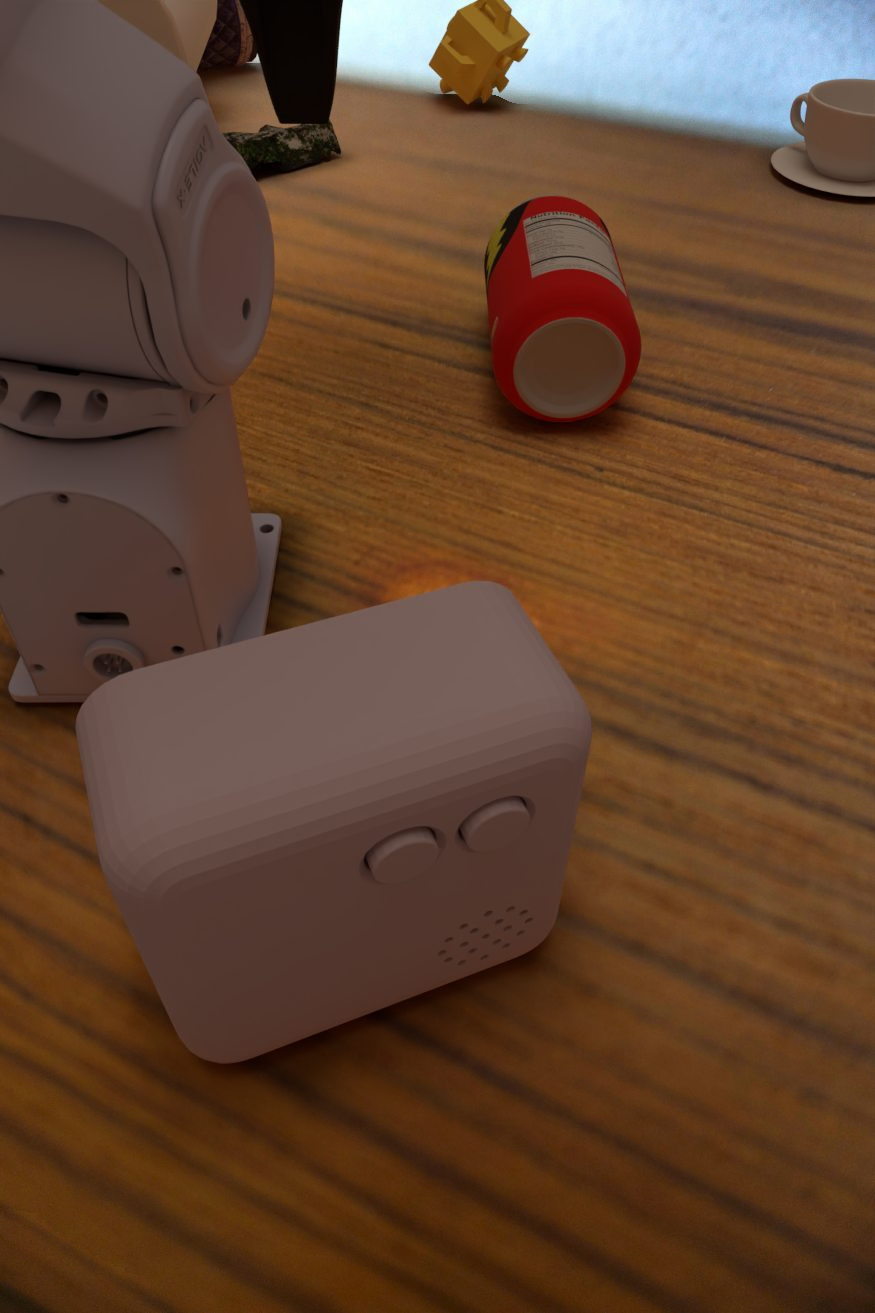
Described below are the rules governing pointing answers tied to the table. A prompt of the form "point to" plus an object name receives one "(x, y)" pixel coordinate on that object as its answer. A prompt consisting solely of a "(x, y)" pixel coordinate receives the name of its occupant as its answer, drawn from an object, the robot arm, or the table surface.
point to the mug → (228, 39)
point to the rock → (285, 145)
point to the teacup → (833, 139)
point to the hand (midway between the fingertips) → (305, 118)
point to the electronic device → (336, 812)
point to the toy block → (479, 50)
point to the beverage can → (558, 311)
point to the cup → (171, 23)
